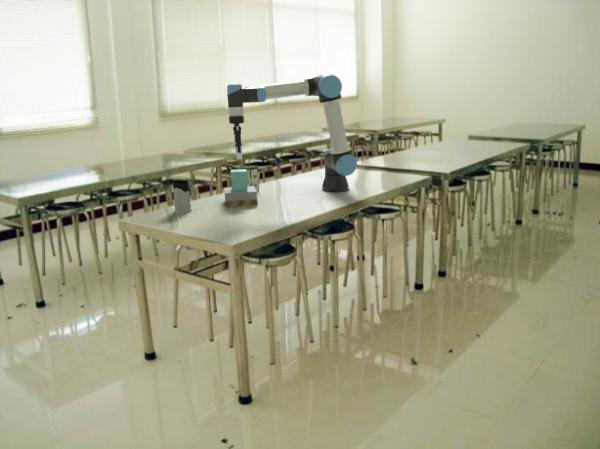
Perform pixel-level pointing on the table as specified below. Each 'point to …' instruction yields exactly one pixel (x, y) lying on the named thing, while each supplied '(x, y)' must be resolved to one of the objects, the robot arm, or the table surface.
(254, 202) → the walnut slab
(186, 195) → the grey black mug
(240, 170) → the teal block
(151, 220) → the table surface
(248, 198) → the grey slab
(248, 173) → the coffee can
